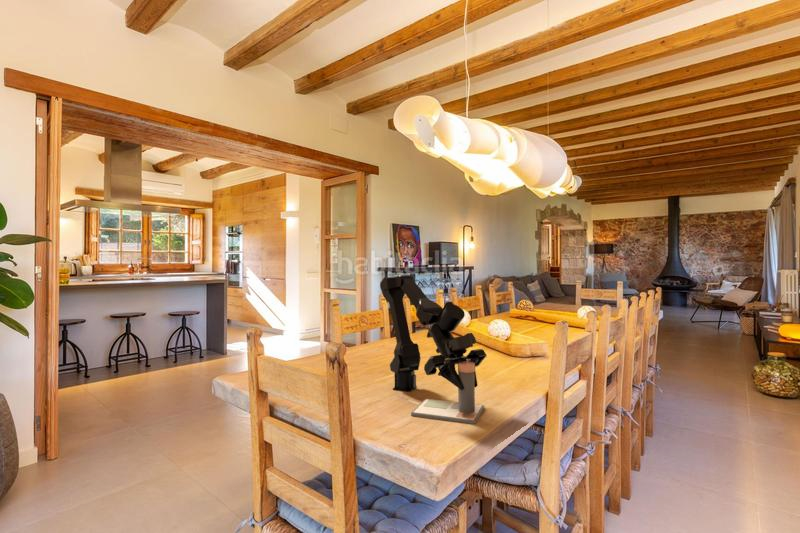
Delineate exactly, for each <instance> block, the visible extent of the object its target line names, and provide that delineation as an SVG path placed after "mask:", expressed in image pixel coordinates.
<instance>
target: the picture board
mask: <svg viewBox="0 0 800 533" xmlns="http://www.w3.org/2000/svg"><path fill="white" fill-rule="evenodd" d="M484 409H485V405H484V404H478V403H477V404H476V403H475V412H474V413H470V414H466V413H461V412H459V401H451V400H450V401H449V400H441V399H433V398H432V399H431V398H425V399H424V400H423V401H421V403H419V404H418V406H416V407H415V408H414V409H413V411H412V412H410V416H412V417H418V418H426V419H435V420H442V421H448V422H457V423H465V424H471V425H476V423H477V421H478V420H479V418H480V416H481V414H482V413H483V411H484Z"/></svg>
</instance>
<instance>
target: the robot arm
mask: <svg viewBox="0 0 800 533" xmlns="http://www.w3.org/2000/svg"><path fill="white" fill-rule="evenodd" d="M379 287H380V290H381V294H382V296H383V298H384V299H385V300H386V302H388V304H389V310H390V316H391V320H392V325H393V330H394V334H395V340H396V345H395V347H394V350H393V356H394V357H393V359H392V360H391V362H390V363H389V369H390V371H391V372H392V373H394V387H393V388H392V390H393V391H401V392H409V393H410V392H413V390H414V389H415V388H417V375H416V374H415V373H416V372H415V371H419V368H420V363H421V353H420V348H419V345H418V343H415V342H413V341H412V338H411V334H410V329H409V324H408V321H407V314H406V310H405V305H404V300H403V299H404V297H405V296H407V298H408V299H409V301H410V302H411V304H412V306H414V308H415V310H416V311H415V315H416V318H417V319H418V321H419V324H421V325H422V326H430V325H431V326H430V328H428V330H427V333H426V338H429V339H430V338H432V340H433V341H434V343H435V344H434V345H436V349H435V352H436V354H438V355H431V356H430V357H429V359H428V360H427V361H426V362H425V364H424V366H423V369H424V373H425V374H426V376H431V375H436V373H437V371H438V373H437V375H438V376H439V377H441V378H444V379H445V380H446V381H448V382H450V383H451V384H453V386H455V387H456V388H457V389H458V388H459V389H460V390H463V389H464V387H463V384H462V382H461V380H460V378H459V376H458V371H457V369H456V365H458V362H463V361H468V362H473V363H475V368H477V367H478V366H480V365H481V363H482V362H483V361H484V360H485V359H486V358H487V354H486V352H485V350H484V349H482V348H477V349H471V350H470V352H469V353H467V351H468V350H467V349H469V348H472V347H474V344H476V342H477V339H476V337H475V334H474V333H472V332H468V333H465V334H464V335H459V336H455V337H454V335H453V333H452V332H453V331H455V330H456V329H457V328H458V327H459V325H460V324H461V323H462V321H463V319H464V317H465V316H466V315H465V314H466V313H465V311H464V309H463V308H461V307H460V306H459V305H457V304H454V302H453V301H446V302H445V303H444V305H443V307H442V306H441V305H440V304H438V303H437V302H436V301H433V300H431V299H429V298H428V297H427V296H426V294H425V293H424V292H423V291H422V289H421V288H420V287H419V286H418V284H417V283H416V282H415V280H414V278H413V276H412V275H410V274H399V275H398V276H390V277H389V276H387V277H383V278H382V280H381V281H380V283H379ZM466 353H467V355H464V354H466ZM437 369H438V370H437ZM476 372H477V371H475V372H474V375H475V388H477V387H478V380H477V379H478V378H477V373H476Z"/></svg>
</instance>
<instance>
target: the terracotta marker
mask: <svg viewBox="0 0 800 533" xmlns="http://www.w3.org/2000/svg"><path fill="white" fill-rule="evenodd" d="M474 372H476V367H475V363H473V362H468V361H463V362H458V364H457V374H458V376H459V378H460V380H461V382H462V384H463V387H464V389H463V390H460V389H459V388H458V387H457V389H458V402H459V412H461V413H466V414H470V413H474V412H475V404H476V396H475V394H476V391H475V389H476V387H475V375H474Z"/></svg>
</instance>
